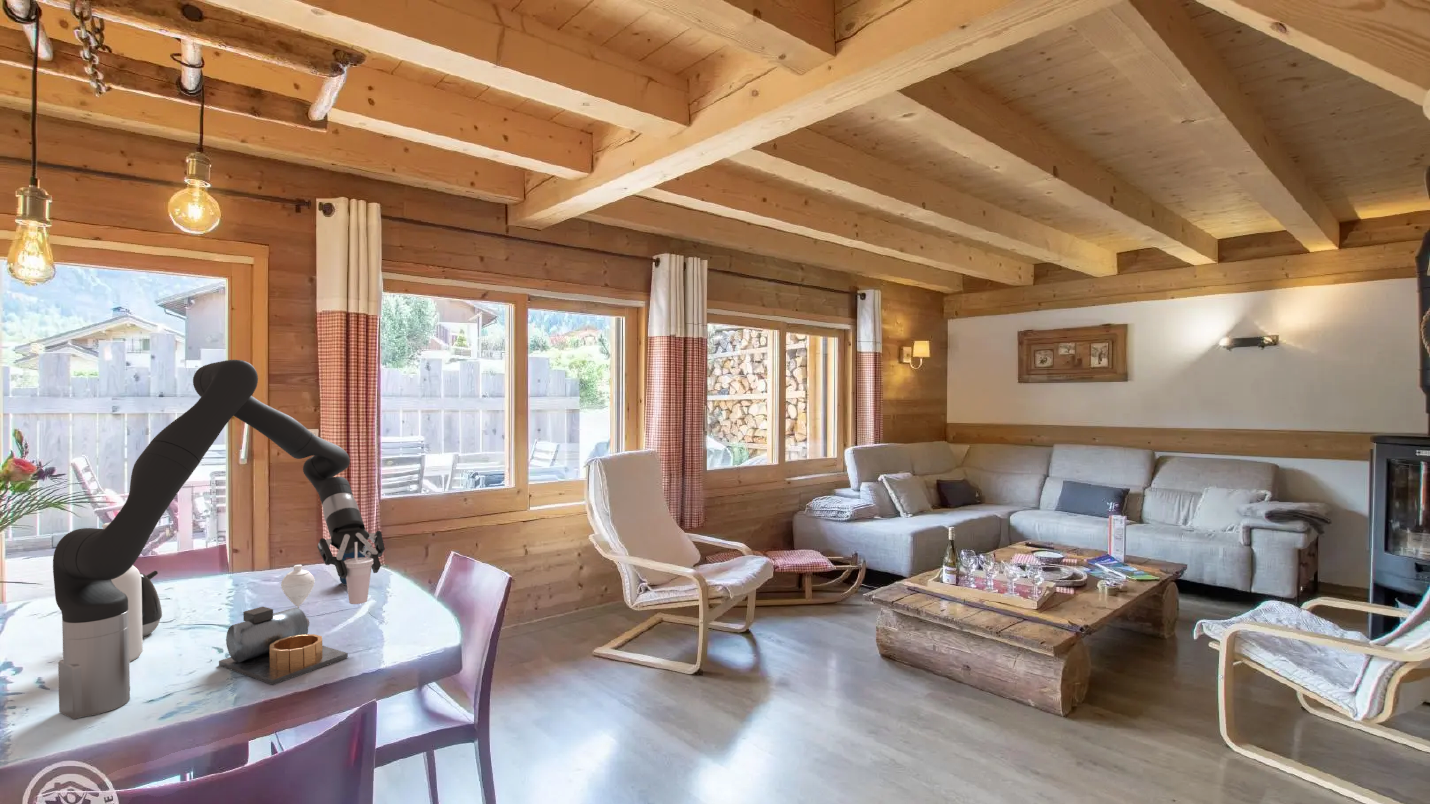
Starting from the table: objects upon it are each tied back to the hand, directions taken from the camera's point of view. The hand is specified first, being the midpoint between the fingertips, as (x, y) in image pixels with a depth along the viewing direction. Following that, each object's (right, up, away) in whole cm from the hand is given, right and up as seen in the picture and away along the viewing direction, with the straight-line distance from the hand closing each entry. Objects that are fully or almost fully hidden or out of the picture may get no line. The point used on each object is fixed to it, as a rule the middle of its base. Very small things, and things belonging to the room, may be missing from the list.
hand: (361, 573), depth 161 cm
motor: (-12, -17, -10) cm, 23 cm away
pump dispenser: (-57, -16, +6) cm, 60 cm away
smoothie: (-1, -7, +1) cm, 7 cm away
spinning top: (-29, -16, +25) cm, 42 cm away
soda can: (-28, -15, +50) cm, 60 cm away
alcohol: (-49, -17, -9) cm, 53 cm away
